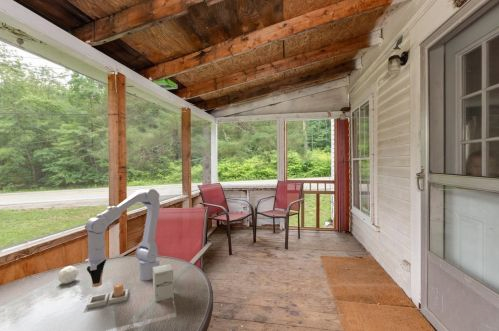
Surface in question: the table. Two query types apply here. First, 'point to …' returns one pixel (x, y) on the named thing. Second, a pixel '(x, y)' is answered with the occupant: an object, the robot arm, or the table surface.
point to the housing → (106, 301)
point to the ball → (68, 274)
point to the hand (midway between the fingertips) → (97, 281)
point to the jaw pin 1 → (98, 283)
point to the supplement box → (163, 282)
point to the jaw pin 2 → (118, 290)
